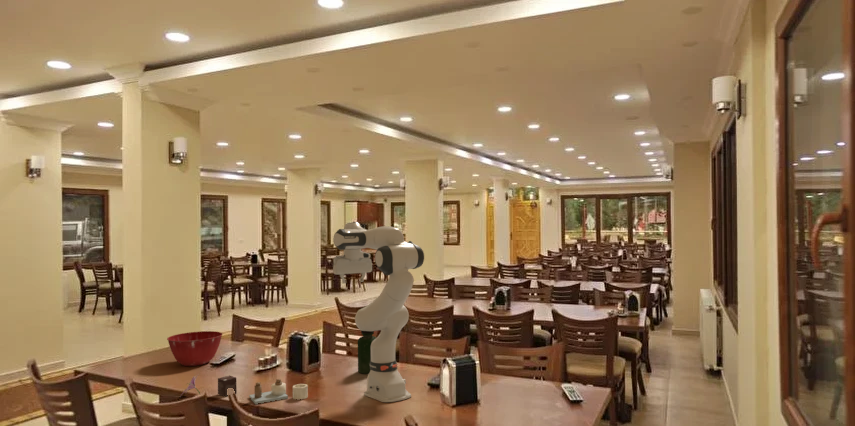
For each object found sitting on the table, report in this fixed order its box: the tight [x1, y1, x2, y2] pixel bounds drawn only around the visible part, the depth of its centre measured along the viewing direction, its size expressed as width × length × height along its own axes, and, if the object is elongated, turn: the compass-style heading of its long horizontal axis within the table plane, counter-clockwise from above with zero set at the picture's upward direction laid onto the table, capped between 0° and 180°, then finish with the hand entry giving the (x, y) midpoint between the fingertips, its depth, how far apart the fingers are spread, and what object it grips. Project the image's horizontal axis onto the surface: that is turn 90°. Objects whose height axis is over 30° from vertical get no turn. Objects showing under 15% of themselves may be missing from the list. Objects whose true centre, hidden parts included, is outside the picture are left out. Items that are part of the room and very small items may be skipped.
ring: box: [292, 383, 309, 401], centre depth 240 cm, size 6×6×5 cm
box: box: [217, 375, 237, 397], centre depth 247 cm, size 6×6×7 cm
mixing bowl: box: [166, 330, 223, 367], centre depth 304 cm, size 28×28×15 cm
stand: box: [248, 378, 289, 405], centre depth 240 cm, size 11×15×7 cm
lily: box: [179, 373, 201, 398], centre depth 246 cm, size 12×12×10 cm
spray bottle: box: [357, 330, 377, 375], centre depth 281 cm, size 10×10×25 cm
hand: (353, 282), depth 272 cm, fingers open, 8 cm apart
